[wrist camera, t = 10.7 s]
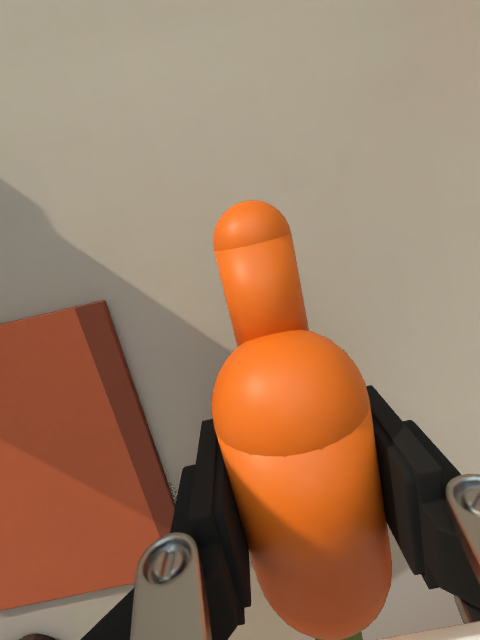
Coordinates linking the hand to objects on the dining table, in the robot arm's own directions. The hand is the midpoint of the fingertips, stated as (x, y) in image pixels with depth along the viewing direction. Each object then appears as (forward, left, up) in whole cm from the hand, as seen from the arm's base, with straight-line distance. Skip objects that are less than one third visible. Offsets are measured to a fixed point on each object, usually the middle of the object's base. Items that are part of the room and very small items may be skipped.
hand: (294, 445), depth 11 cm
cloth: (+2, -12, -5) cm, 13 cm away
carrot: (0, 0, 0) cm, 1 cm away
